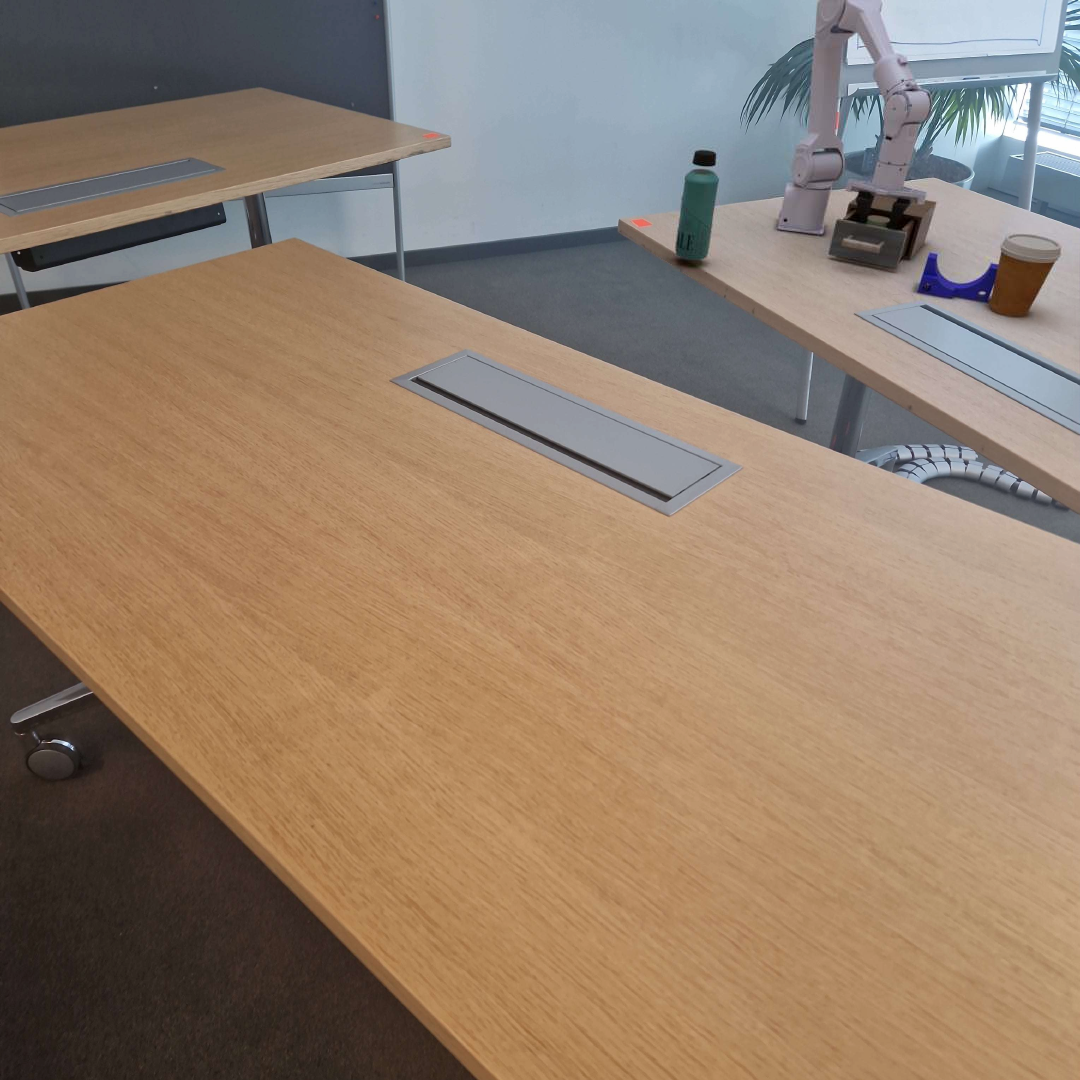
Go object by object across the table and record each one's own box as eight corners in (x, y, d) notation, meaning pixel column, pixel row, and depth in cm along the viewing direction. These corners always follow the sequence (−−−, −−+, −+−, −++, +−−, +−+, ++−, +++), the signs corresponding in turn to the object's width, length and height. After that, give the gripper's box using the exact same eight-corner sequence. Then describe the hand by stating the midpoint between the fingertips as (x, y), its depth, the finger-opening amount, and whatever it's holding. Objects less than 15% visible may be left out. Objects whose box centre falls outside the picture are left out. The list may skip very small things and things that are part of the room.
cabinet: (909, 260, 175) (922, 217, 170) (838, 245, 181) (848, 203, 176) (924, 243, 184) (936, 202, 179) (856, 229, 190) (866, 189, 185)
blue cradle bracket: (917, 292, 161) (927, 259, 157) (919, 284, 164) (929, 252, 160) (987, 305, 157) (998, 272, 153) (988, 297, 160) (999, 264, 156)
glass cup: (884, 247, 171) (890, 223, 168) (860, 244, 172) (867, 220, 169) (883, 240, 174) (890, 217, 171) (860, 237, 175) (866, 214, 172)
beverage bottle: (709, 259, 170) (727, 149, 158) (703, 270, 165) (720, 157, 153) (676, 254, 172) (691, 145, 160) (669, 265, 167) (684, 152, 155)
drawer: (889, 276, 164) (900, 240, 160) (820, 261, 170) (829, 225, 166) (910, 252, 177) (920, 218, 173) (845, 238, 182) (854, 205, 178)
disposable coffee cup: (1033, 324, 150) (1060, 254, 143) (974, 311, 154) (999, 242, 147) (1040, 308, 157) (1067, 240, 150) (984, 295, 161) (1007, 229, 153)
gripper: (849, 159, 164) (831, 232, 172) (928, 172, 158) (907, 248, 166) (859, 152, 169) (842, 224, 177) (937, 165, 163) (915, 238, 171)
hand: (874, 235), depth 172 cm, fingers closed on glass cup, 4 cm apart
